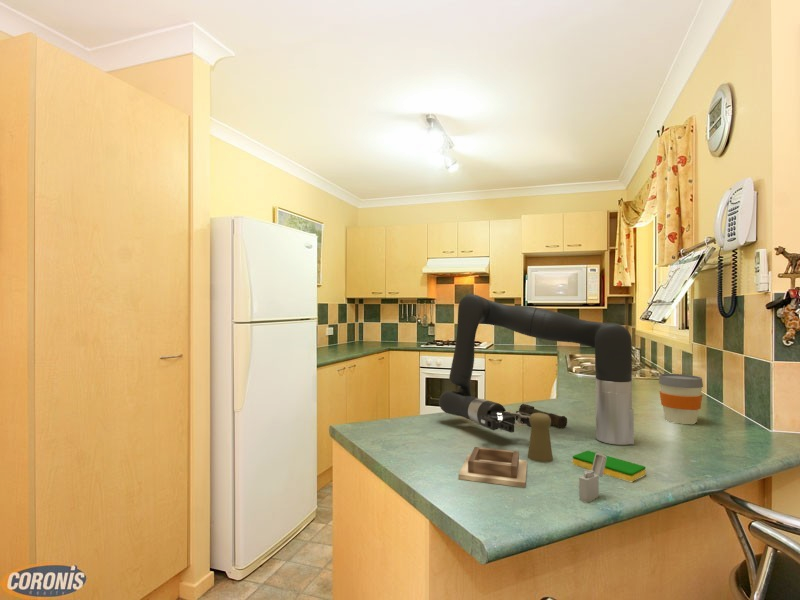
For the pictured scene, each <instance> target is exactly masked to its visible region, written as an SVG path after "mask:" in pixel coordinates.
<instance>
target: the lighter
mask: <svg viewBox="0 0 800 600" xmlns="http://www.w3.org/2000/svg"><path fill="white" fill-rule="evenodd" d="M595 453H596V454H595V458H594V462H593V466H592V470H589V469H587V470H584V471H583V475H581V476H579V479H578V482H579V483H578V487H579V488H578V490H579V493H578V495H579V500H580V501H582V502H584V501H585V503H589V502H591V500H592V501H593V500H596V499H599V498H598V497H599V494H600V493H599V492H600V491H599V489H600V488H599V486H600V485H599V482H600V481H599V479H600V478H599V477H601V478H602V477H603V475H604V474H603V472H604V468H605V464H606V460H607V457H606V456H607V455H606V456H605V454H602V453H598V452H595ZM595 498H596V499H595Z"/></svg>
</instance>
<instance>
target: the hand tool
mask: <svg viewBox="0 0 800 600" xmlns="http://www.w3.org/2000/svg"><path fill="white" fill-rule="evenodd" d="M518 411H520V412H523V413H527V414H533V413H544V414H547V415H548V416H549V417H550V419H551V425H552V426H554V427H557V428H558V429H565V428H566V427H567V426H568V425H567V424H568V418H567V416H565V415H562V416H561V415H558V414H554V413H552V412H551V413H550V412H547V411H542V410H540V409H536V408H535V406H533V405H532V406H531V405H529V404H525V403H522V404H520V406H519V408H518ZM551 425H550V426H551Z"/></svg>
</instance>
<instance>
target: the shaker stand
mask: <svg viewBox="0 0 800 600" xmlns="http://www.w3.org/2000/svg"><path fill="white" fill-rule="evenodd" d="M527 466H528V460H526V459H520V452H519V451H518V450H510V449H509V450H508V449H501V448H500V449H499V448H490V447H489V448H488V447H481V446H479V447H478V446H474V447H473V450H472V451H471V454H470V453H468V454H467V456H466V458H465V461H464V462H463V465H462V466H461V469H460V470H459V473H458V480H462V481H464V480H465V481H473V482H479V483H486V484H487V483H488V484H493V485H494V484H496V485H502V486H510V487H517V488H526V482H527V472H528V471H527V469H528V467H527Z"/></svg>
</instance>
